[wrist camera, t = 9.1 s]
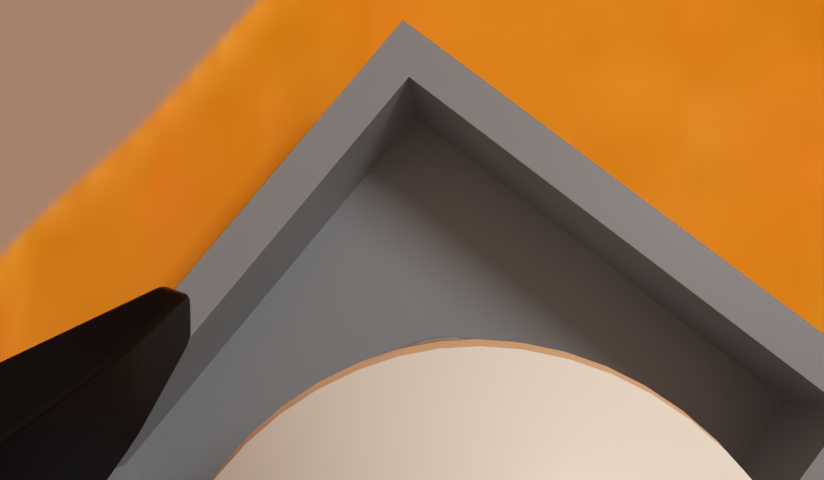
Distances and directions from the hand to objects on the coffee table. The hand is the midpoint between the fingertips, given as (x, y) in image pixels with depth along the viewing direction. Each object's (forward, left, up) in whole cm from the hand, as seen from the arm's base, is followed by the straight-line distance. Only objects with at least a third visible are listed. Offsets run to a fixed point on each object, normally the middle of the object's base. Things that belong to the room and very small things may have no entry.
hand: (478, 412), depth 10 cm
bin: (-1, -1, -9) cm, 9 cm away
